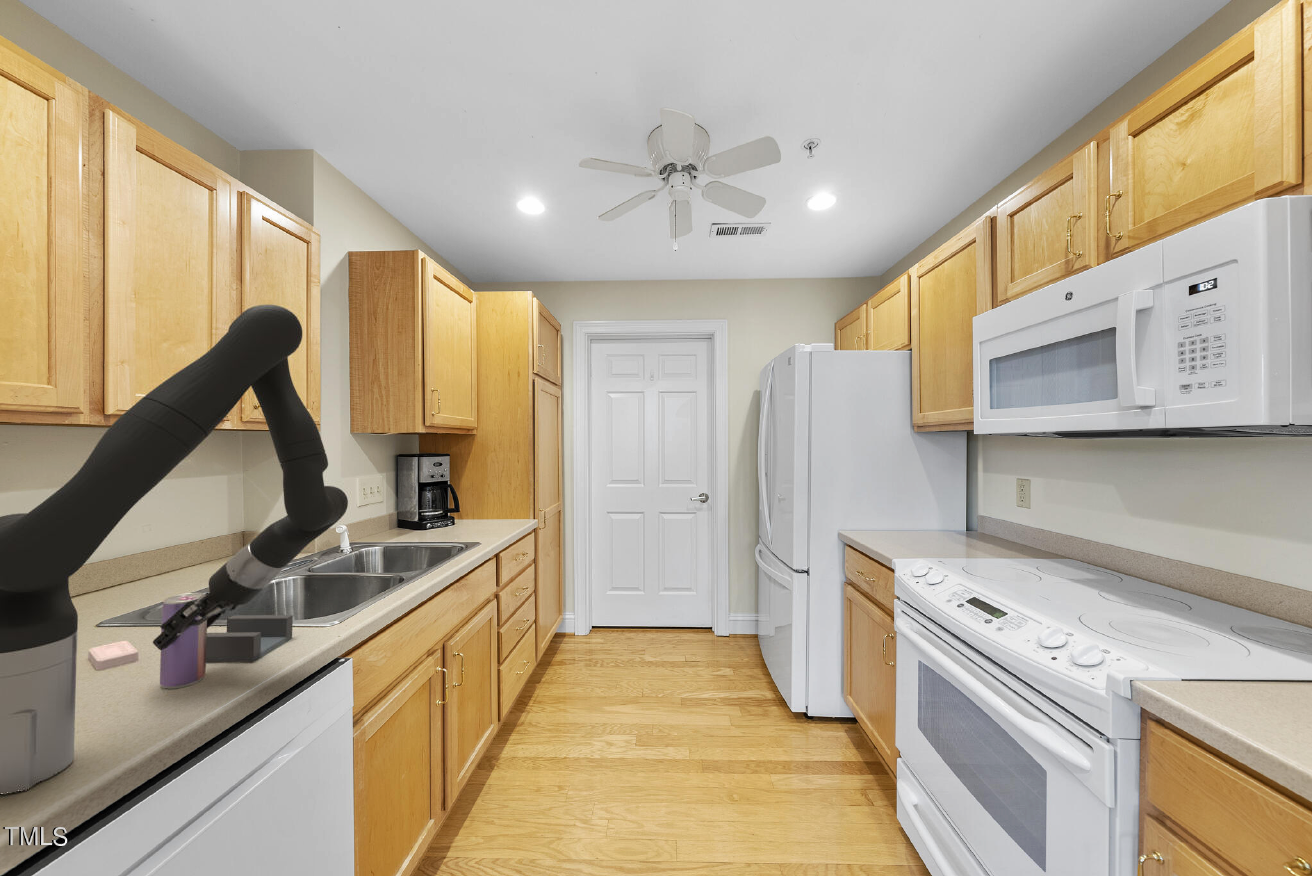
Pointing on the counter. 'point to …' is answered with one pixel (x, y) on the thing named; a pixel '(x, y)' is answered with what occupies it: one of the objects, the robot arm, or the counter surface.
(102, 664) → the soap bar
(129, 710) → the counter surface
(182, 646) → the beverage can
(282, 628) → the duct channel
